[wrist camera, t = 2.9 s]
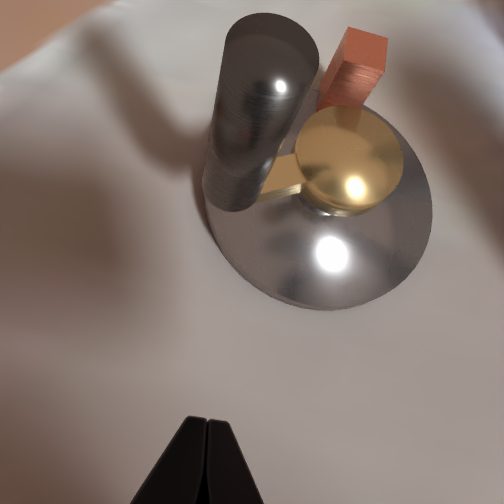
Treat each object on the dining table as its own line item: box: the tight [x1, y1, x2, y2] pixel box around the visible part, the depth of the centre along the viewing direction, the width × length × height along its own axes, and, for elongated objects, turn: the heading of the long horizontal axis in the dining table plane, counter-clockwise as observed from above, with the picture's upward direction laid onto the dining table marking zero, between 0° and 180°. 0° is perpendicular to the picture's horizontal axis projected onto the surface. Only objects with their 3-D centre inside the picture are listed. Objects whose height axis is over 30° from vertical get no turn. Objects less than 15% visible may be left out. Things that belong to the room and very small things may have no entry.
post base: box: [204, 27, 432, 311], centre depth 22 cm, size 12×12×5 cm
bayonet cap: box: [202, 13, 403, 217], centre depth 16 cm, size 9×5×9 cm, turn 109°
